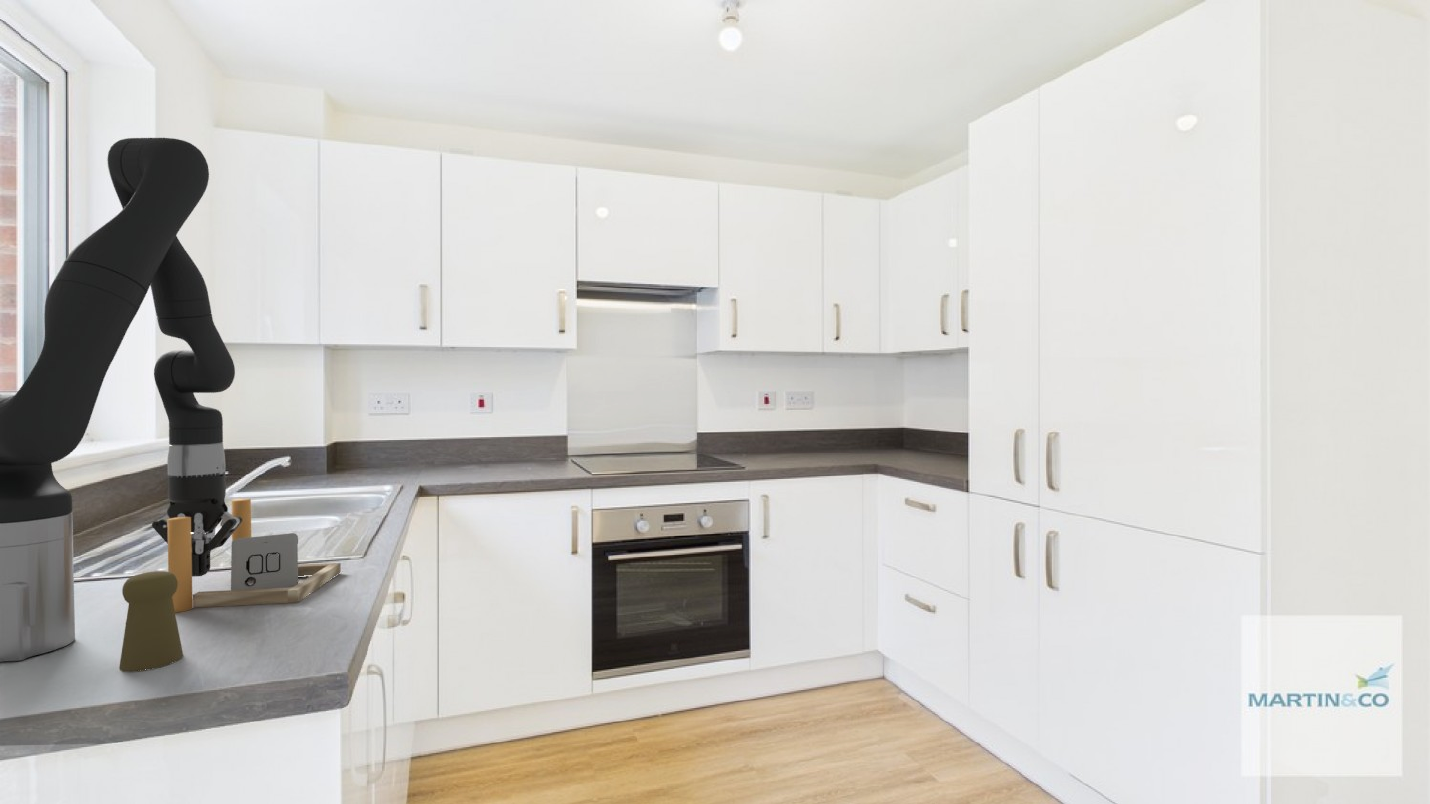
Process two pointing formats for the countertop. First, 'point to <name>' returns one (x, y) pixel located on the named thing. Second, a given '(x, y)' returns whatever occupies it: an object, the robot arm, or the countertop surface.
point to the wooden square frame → (273, 595)
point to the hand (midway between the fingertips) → (198, 575)
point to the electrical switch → (265, 562)
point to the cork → (150, 622)
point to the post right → (244, 511)
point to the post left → (180, 561)
